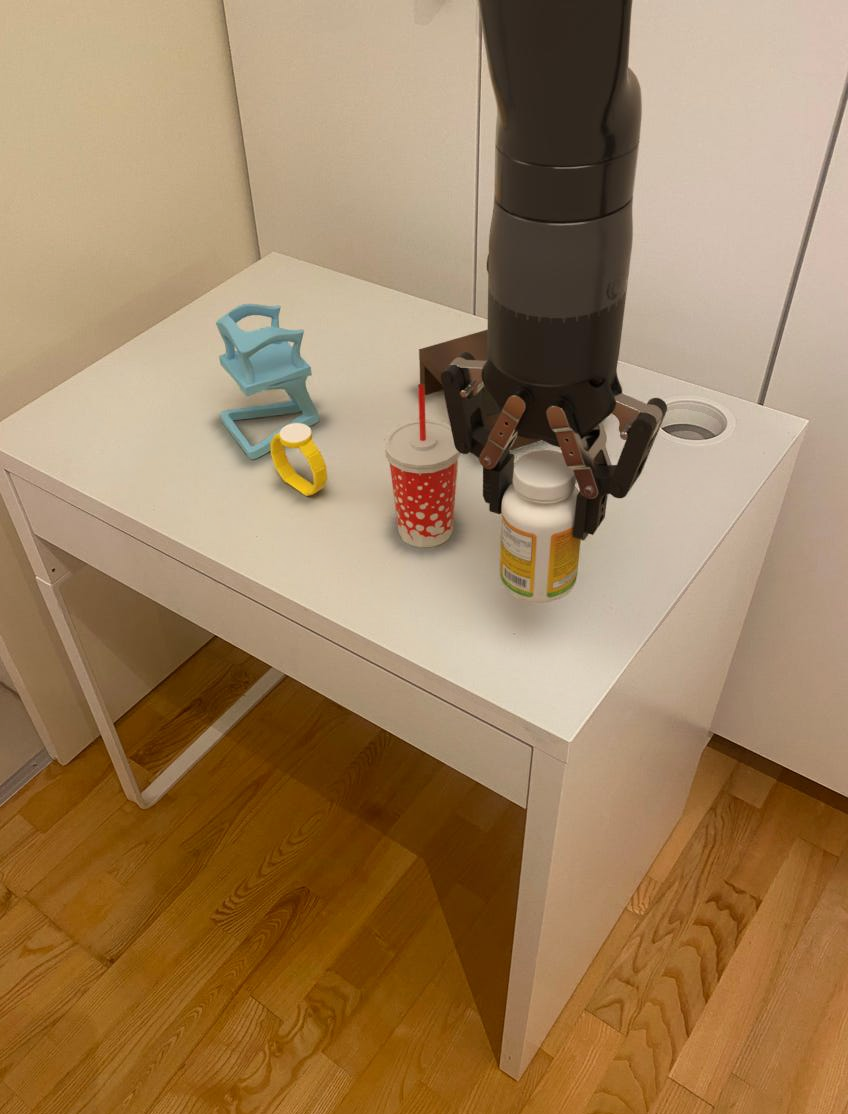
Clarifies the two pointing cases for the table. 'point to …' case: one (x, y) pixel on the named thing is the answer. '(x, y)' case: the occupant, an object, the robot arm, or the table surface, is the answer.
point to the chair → (264, 371)
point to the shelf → (444, 354)
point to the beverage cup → (423, 478)
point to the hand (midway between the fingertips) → (541, 518)
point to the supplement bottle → (539, 529)
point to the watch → (302, 439)
